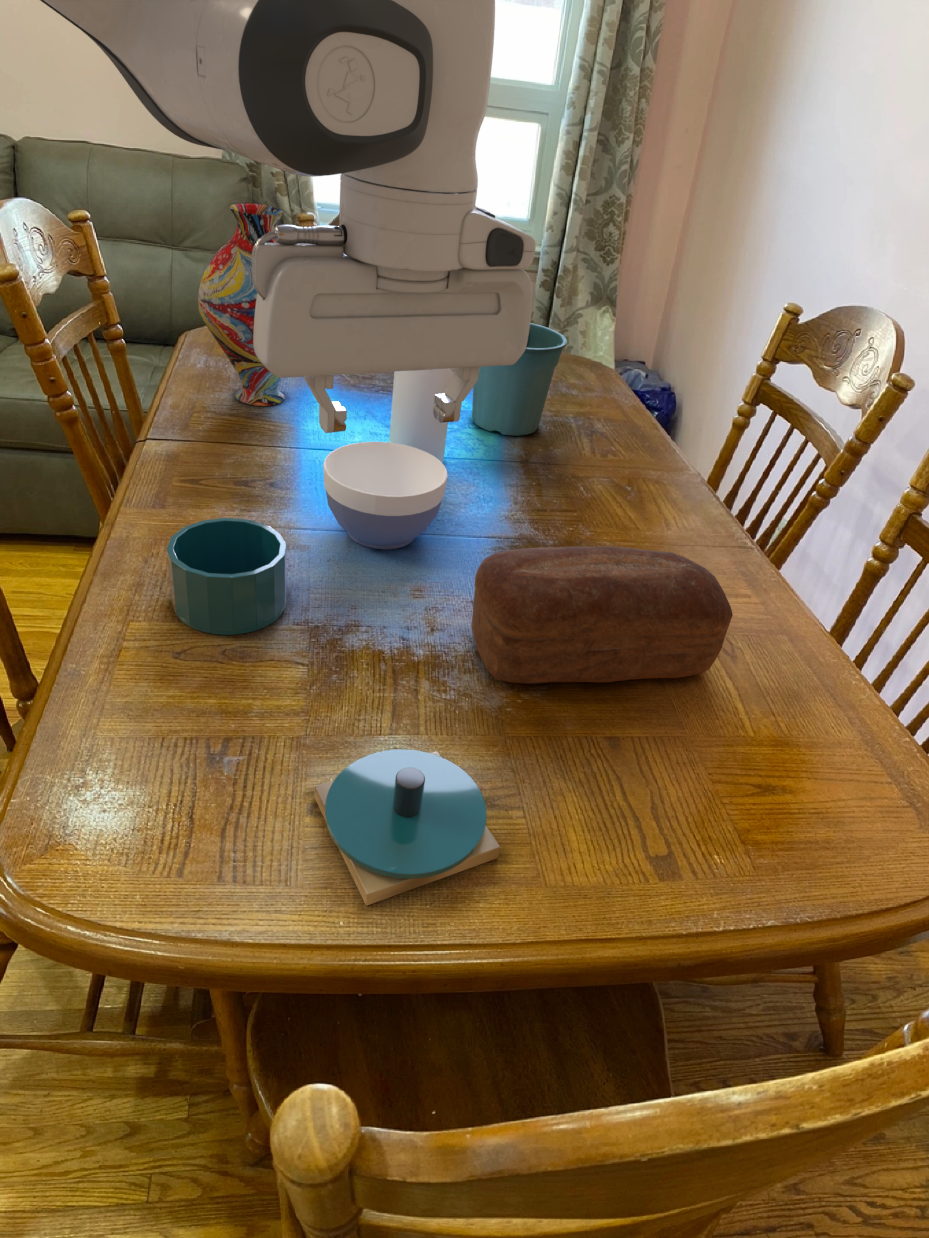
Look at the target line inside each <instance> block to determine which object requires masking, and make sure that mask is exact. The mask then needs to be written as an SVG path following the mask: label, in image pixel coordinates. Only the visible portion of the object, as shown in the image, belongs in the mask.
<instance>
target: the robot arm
mask: <svg viewBox="0 0 929 1238" xmlns="http://www.w3.org/2000/svg"><path fill="white" fill-rule="evenodd" d="M39 1H40V2H41V3H43V4H44V5H46V6H47V7H49V8H50V9H51V10H53V11H54V12H55V13H57V14H58V15H60V16H61V17H62V18H64V19H65V20H66V21H68V22H69V23H71V25H73V26H75V27H76V28H77V29H78V30H80V31H81V32H82V33H83V34H84V35H86V36H87V37H88V38H89V39H90V40H91V41H93V42H94V43H95V44H96V46H97V47H99V49H100V50H101V51H102V52H103V53H104V55H106V57H108V59H109V60H110V61H111V63H113V65H114V66H115V68H116V69H117V71H118V72H119V74H120V75H121V76H122V78H123V79H124V81H125V82H126V83H127V85H128V86H129V88H130V89H131V90H132V92H133V94H134V95H135V96H136V98H138V100H139V102H140V103H141V104H142V105H143V106H144V108H145V109H146V110H147V111H148V113H149V114H150V115H151V116H152V117H153V118H154V119H155V120H156V121H157V122H158V123H159V124H160V125H161V126H163V128H165V129H166V130H167V131H168V132H170V133H172V135H175V136H177V137H178V138H180V139H182V140H184V141H185V142H186V141H187V142H188V143H190V144H191V143H192V144H194V145H197V146H202V147H206V148H212V149H215V150H216V149H217V150H222V151H227V152H230V153H232V154H235V155H237V156H240V157H243V158H246V159H249V160H251V161H254V162H257V163H259V164H263V165H266V166H269V167H272V168H275V169H278V170H281V171H284V172H286V173H289V174H292V175H296V176H302V177H308V178H309V177H313V178H314V177H325V176H334V175H340V177H339V180H340V184H339V211H338V225H312V226H311V225H310V226H297V225H295V224H279V225H278V224H277V226H275V227H274V231H272V232H269V233H266V234H265V235H263V236H262V237H261V238H260V239H259V240H258V241H257V242H256V244H255V245H254V248H253V251H252V281H253V285H254V288H255V290H256V291H257V299H256V307H255V317H254V334H253V346H254V351H255V354H256V356H257V357H258V359H259V360H260V362H261V363H262V364H263V365H264V366H265V367H266V368H267V369H268V370H269V371H270V372H271V373H272V374H273V375H275V376H276V377H279V378H280V379H285V378H303V377H304V381H305V383H306V385H307V387H308V388H309V390H310V391H311V393H312V395H313V397H314V399H315V400H316V402H317V403H318V404H319V405H318V407H319V408H318V413H319V414H318V424H319V426H320V427H319V428H321V429H322V431H323V432H324V433H325V434H332V433H340V432H346V430H347V423H346V421H347V419H348V418H347V417H348V410H347V409H346V408H345V407H344V406H342V403H340V402H339V401H338V400H337V401H335V400H334V401H332V399H331V397H330V396H329V395H328V392H327V390H332V389H333V388H334V382H335V381H334V380H335V379H334V378H335V376H339V375H340V376H341V375H355V374H356V375H358V374H378V373H393V372H397V371H415V370H433V369H450V370H451V371H452V372H453V373H454V377H453V378H452V380H451V382H450V384H449V385H448V387H447V389H446V391H445V392H444V393H445V394H435V400H434V403H435V407H434V410H433V413H434V417H435V418H436V419H438V420H439V422H441V423H446V422H448V423H456V422H457V423H458V422H459V421H460V418H461V410H462V403H463V402H464V401H465V400H466V399H467V397H468V395H469V394H470V392H471V391H472V390H473V387H474V385H475V384H476V382H477V381H478V376H479V369H480V367H488V366H507V365H513V364H515V363H516V362H517V361H518V359H519V358H520V357H521V356H522V354H523V353H524V351H525V349H526V345H527V341H528V335H529V328H530V323H531V319H532V310H533V285H532V284H533V283H532V280H531V277H530V276H529V273H527V271H525V269H527V268H529V267H530V266H531V265H532V264H533V261H534V259H535V255H536V247H537V246H536V245H537V244H536V240H535V238H534V237H533V236H531V235H529V234H528V233H526V232H525V231H523V230H521V228H520V229H519V228H518V227H516V226H514V225H512V224H510V223H508V222H506V221H503V220H501V219H500V218H497V217H496V215H495V214H494V213H491V212H490V211H488V210H486V209H484V208H480V207H478V206H477V205H476V201H477V195H478V184H479V178H478V169H477V162H476V152H477V151H476V150H477V142H478V138H479V133H480V130H481V127H482V124H483V122H484V119H485V117H486V113H487V110H488V103H489V94H490V86H491V77H492V66H493V58H494V57H493V56H494V45H495V44H494V43H495V29H496V28H495V27H496V19H495V18H496V0H39ZM271 239H274V240H275V242H276V243H266V242H267V241H269V240H271Z"/></svg>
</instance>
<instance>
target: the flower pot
mask: <svg viewBox="0 0 929 1238" xmlns="http://www.w3.org/2000/svg"><path fill="white" fill-rule="evenodd" d="M567 344H568V339H567V338H566V337H565V335H564V334H562V333H560V332H559V331H557V330H554V329H552V328H550V327H547V326H544V325H540V324H536V323H532V322H530V328H529V335H528V341H527V345H526V349H525V351H524V353H523V354H522V356H521V357H520V358H519V359H518V361H517V362H516V363H515V364H513V365H507V366H488V367H480V369H479V376H478V381H477V382H476V384H475V385H474V387H473V388H472V404H471V405H472V407H471V419H472V421H473V423H474V424H475V425H477V426H478V427H479V428H482V430H485V431H488V432H493V431H496V432H498V433H500V434H501V435H504V436H514V437H517V436H518V437H519V436H526V435H530V434H533V433H535V432H537V431H536V430H537V429H538V427H539V426H540V423H541V420H542V415H543V411H544V408H545V405H546V401H547V397H548V394H549V392H550V391H549V390H550V387H551V384H552V379H553V376H554V373H555V370H556V367H557V366H558V364H559V362H560V358H561V356H562V355H561V354H562V351H563V348H565V347H566V345H567Z"/></svg>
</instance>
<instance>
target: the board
mask: <svg viewBox="0 0 929 1238" xmlns="http://www.w3.org/2000/svg"><path fill="white" fill-rule="evenodd" d="M430 753H431V754H434V755H437V756H440V757H442V756H441V754H440V753H439V751H438V750H435V751H432V752H430ZM334 780H335V779H333V780H330V781H326V782H322V783H318V784H316V785H314V789H313V790H314V791H313V792H314V793H313V797H314V800H315V802H316V804H317V806H318V808H319V811H320V813H321V815H322V817H323V818H324V821H325V822H326V820H325V803H326V797H327V794H328V791H329V789H330V787H331V785H332V783H333V782H334ZM338 850H339V853H340V854H341V856H342V859H343V861H344V862H345V864H346V867H347V869H348V871H349V873H350V876H351V878H352V880H353V882H354V883H355V886H356V888H357V891H358V892H359V894H360V896H361V898H362V900H363V903H364V904H365V906H370V905H372V904H376V903H378V902H381V901H383V900H386V899H390V898H391V897H394V896H398V895H400V894H403V893H406V892H408V891H411V890H414V889H416V888H419V887H422V886H425V885H428V884H430V883H433V882H435V881H439V880H441V879H444V878H446V877H449V876H452V875H455V874H458V873H461V872H463V871H466V870H469V869H471V868H475V867H477V866H479V865H482V864H485V863H489V862H490V861H494V860H497V859H498V858H499V855H500V850H501V846H500V844H499V843H498V841H497V840H496V838H495V836H494V835H493V834H492V831H491V830H490V829H489V827H488V826H487V825H486V826H485V830H484V834H483V837H482V839H481V841H480V843H479V845H478V846H477V848H476V849H475V851H474V852H473V853H472V854H471V855H470V856H469V857H468V858H467V859H466V860H465V861H463V862H462V863H461V864H459V865H458V866H456V867H454V868H453V869H451V870H448V871H446V872H444V873H441V874H438V875H434V876H431V877H425V878H415V879H404V878H394V877H388V876H384V875H380V874H377V873H374V872H372V871H369V870H367V869H365V868H363V867H361V866H359V865H358V864H356V863H355V862H353V861H352V860H350V859H349V858H348V857H347V856H346V855H345V854H344V853H343V852H341V850H340V849H339V848H338Z"/></svg>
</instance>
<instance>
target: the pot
mask: <svg viewBox="0 0 929 1238" xmlns="http://www.w3.org/2000/svg"><path fill="white" fill-rule="evenodd" d="M287 546H288V545H287V542H286V540H285V539H284V538H283V536H282V535H281V533H280V532H279V531H277V530H275V529H274V528H272V527H271V526H269V525H268V524H265V523H262V522H258V521H255V520H250V519H246V518H233V517H220V518H212V519H211V518H210V519H204V520H200V521H197V522H194V523H192V524H189V525H186V526H184V527H182V528H181V529H180V530H178V531H176V533H174V534H173V535H172V536H171V537H170V539H169V540H168V544H167V546H166V559H167V560H166V561H167V568H168V578H169V589H170V598H171V604H172V608H173V612H174V614H175V615H176V617H177V618H178V619H179V620H180V621H181V622H182V623H183V624H185V625H186V626H187V627H189V628H191V629H194V630H196V631H199V632H202V633H206V634H212V635H219V636H233V635H234V636H235V635H242V634H249V633H252V632H256V631H259V630H261V629H264V628H266V627H268V626H269V625H272V624H273V623H274V622H276V621H277V620H278V619H279V618H280V617H281V615H282V614H283V613H284V611H285V609H286V605H287V596H288V595H287V594H288V593H287V591H288V590H287V589H288V588H287V587H288V586H287V585H288V584H287V583H288V581H287V579H288V578H287V575H288V574H287V567H288V566H287V565H288V562H287V561H288V560H287V558H288V557H287V553H288V552H287V549H288V548H287Z"/></svg>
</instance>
